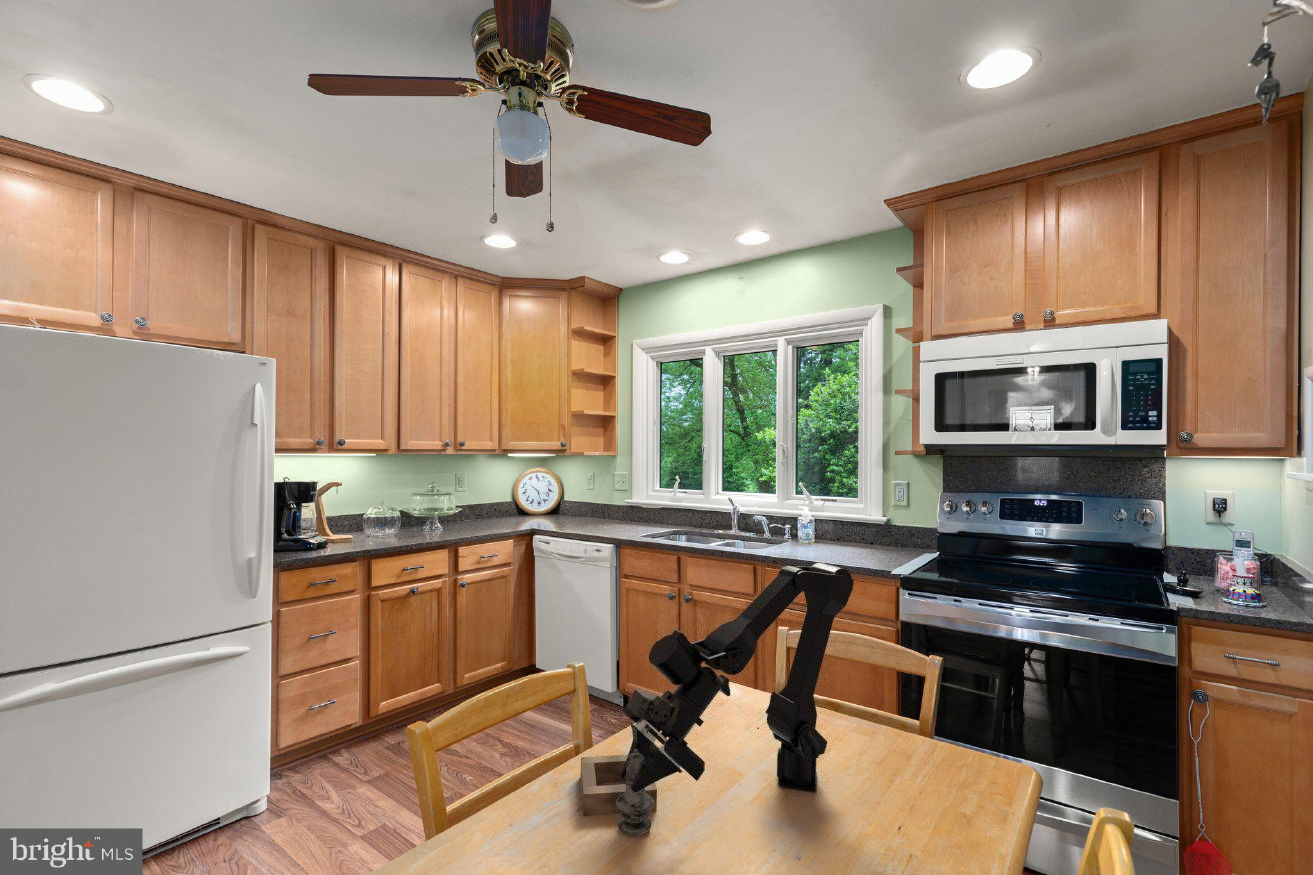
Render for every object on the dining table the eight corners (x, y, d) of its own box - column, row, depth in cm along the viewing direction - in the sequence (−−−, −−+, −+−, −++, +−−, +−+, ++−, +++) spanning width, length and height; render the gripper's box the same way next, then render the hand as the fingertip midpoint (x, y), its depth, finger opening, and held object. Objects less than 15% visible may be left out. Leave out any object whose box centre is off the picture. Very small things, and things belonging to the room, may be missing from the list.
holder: (646, 772, 115) (646, 753, 115) (656, 810, 103) (657, 789, 104) (580, 776, 113) (580, 757, 113) (583, 815, 102) (583, 794, 102)
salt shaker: (658, 832, 97) (659, 754, 97) (620, 839, 95) (622, 759, 95) (647, 810, 102) (648, 737, 102) (612, 816, 101) (613, 741, 101)
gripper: (634, 653, 109) (572, 730, 104) (688, 692, 92) (618, 786, 87) (673, 690, 112) (616, 766, 107) (732, 735, 96) (667, 827, 91)
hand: (627, 784), depth 98 cm, fingers closed on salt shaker, 3 cm apart
